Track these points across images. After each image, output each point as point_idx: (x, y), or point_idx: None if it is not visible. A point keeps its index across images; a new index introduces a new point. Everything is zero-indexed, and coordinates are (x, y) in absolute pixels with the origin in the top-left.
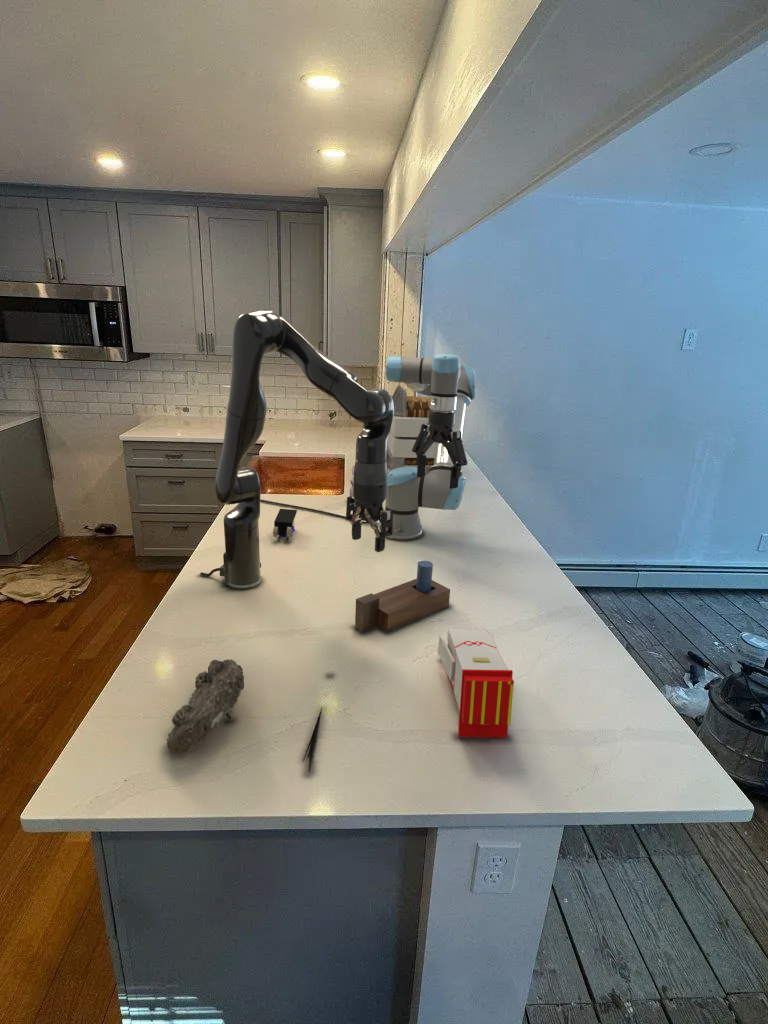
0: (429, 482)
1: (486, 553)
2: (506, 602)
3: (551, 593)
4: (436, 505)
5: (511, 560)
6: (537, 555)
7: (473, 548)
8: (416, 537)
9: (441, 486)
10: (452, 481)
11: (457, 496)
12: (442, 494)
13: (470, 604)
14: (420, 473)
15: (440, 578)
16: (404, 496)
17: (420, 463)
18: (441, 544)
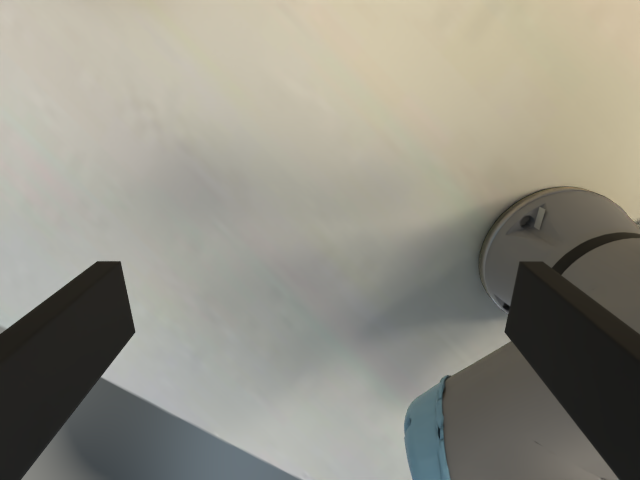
0: (568, 430)
1: (277, 339)
2: (17, 157)
3: (16, 290)
4: (472, 364)
5: (209, 356)
6: (198, 421)
7: (321, 337)
8: (480, 261)
9: (497, 443)
10: (52, 301)
11: (409, 441)
12: (467, 409)
13: (46, 57)
14: (534, 300)
15: (225, 112)
16: (619, 297)
17: (613, 361)
18: (398, 289)
